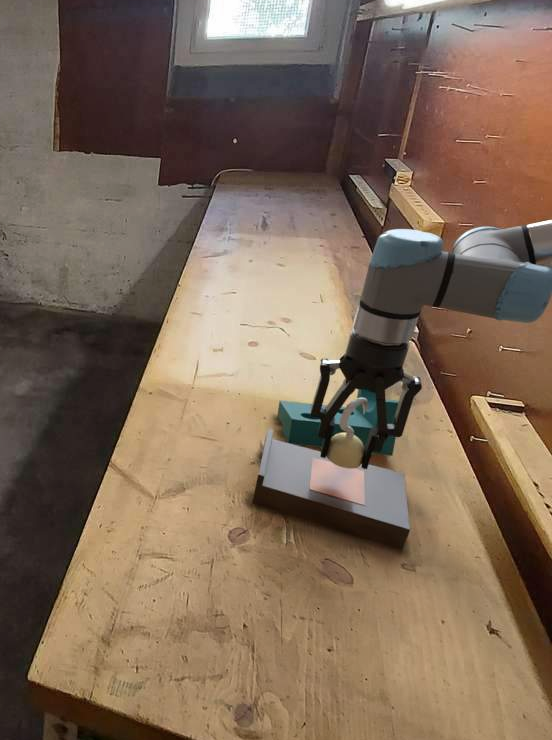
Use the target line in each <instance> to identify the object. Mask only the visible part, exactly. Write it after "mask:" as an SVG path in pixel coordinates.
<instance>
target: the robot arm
mask: <svg viewBox="0 0 552 740" xmlns="http://www.w3.org/2000/svg"><path fill="white" fill-rule="evenodd" d="M443 245H444V242H443V239H442V238H441V237H440V236H438V234H437V235H436V234H434V233H431V232H427V231H426V232H424V231H421V230H419V229H409V228H395V229H394V228H393V229H389V230H387V231H384V232H383V233H381V234H380V235H379V236H378V237H377V240H376V243H375V245H374V248H373V252H372V255H371V257H370V261H369V263H368V267H367V271H366V275H365V279H364V283H363V287H362V290H361V293H360V297H359V298H360V299H359V303H358V306H357V309H356V313H355V317H354V320H353V324H352V328H353V329H352V330H351V331H350V333H349V334H350V335H349V337H348V342H347V345H346V348H345V352H344V354H343V355H342V356H341V357H340V358H339V359H337V360H335V359H334V360H329V359H328V357H327V358H326V357H323V358H321V359H320V363H319V372H320V377H319V380H318V383H317V386H316V389H315V392H314V397H313V400H312V403H311V404H312V407H311V416H312V417H315V418H316V417H317V418H319V419H320V420H321V422H320V425H319V429H318V437H320V438H324V439H323V443H322V446H321V447H320V452H321V456H320V457H322V458H326V455H327V451H328V448H329V444H330V441H331V437H332V434H333V430H334V426H335V418H334V416H335V415H336V414H337V412H338V411H339V410H340V408H341V407H343V405H344V404H345V403H346V401H347V400H348V399H349V398H350V396H351V395H352V394H353V393H354V392H355V390H358V389H359V390H367V391H370V392H373V393H376V406H377V422H378V428H376V427H371V430H370V433H369V436H368V439H367V442H366V445H365V449H364V450H365V452H364V456H363V459H362V468H363V469H367V468H368V465H369V464H370V462H371V458H372V455H373V454H372V453H373V451H376V452H380V451H381V450H382V447H383V444H384V441H385V440H386V439H387V438H388V436H395V437H396V438H401V437H402V436H403V434H404V431H405V427H406V424H407V422H408V418H409V415H410V411H411V408H412V405H413V401H414V399H415V397H416V396H417V395H418V394H419V393H420V392H421V390H422V389H423V386H422V379H421V377H420V376H418V375H413V376H411V375H409V374H407V373H405V372H404V364H405V361H406V357H407V354H408V351H409V349H410V345H411V343H410V341H411V340H412V339H413V336H414V333H415V331H416V327H417V324H418V321H419V317H420V315H421V312H422V309H423V307H424V306H427V307H432V308H436V309H443V310H447V311H452V312H453V311H454V312H459V313H464V314H470V315H475V316H480V317H485V318H490V319H494V320H497V321H500V322H501V321H507V322H513V323H514V322H516V323H523V324H530V323H534V322H536V321H537V320H539V319H540V318H541V317H542V316H543V314H544V312H545V311H546V309H547V307H548V305H549V303H550V301H551V297H552V219H550V220H545V221H539V222H535V223H530V224H529V223H528V224H524V225H519V226H518V225H517V226H513V227H508V228H502V229H501V228H500V227H495V226H479V227H474V228H471V229H469V230H467V231H465V232H464V233H463V234H462V235H460V236H459V237H458V238H457V239H456V241H455V243H454V245H453V247H452V250H451V252H448V251H444V249H443V247H444V246H443ZM337 370H340V371H341V373H342V375H343V376H344V379H343V381H342V384H341V385H340V387H339V388H338V389H337V390H336V392H335V393H334V395H333V396H332V398H331V399H330V400H329V402H328V404H327V405H326V408H325V409H323V408H321V407H322V405H324V404H323V403H324V401H325V397H326V393H327V391H328V387H329V384H330V379H331V376H333V375H335V374H336V371H337ZM399 382H401V385H400V386H401V389H402V390H401V393H400V397H399V399H398V401H399V403H398V406H397V410H396V413H395V416H394V420H393V423H392V424H387V417H386V399H387V398H386V390H387V389H389V388H390V387H392V386H394V385H396V384H397V383H399Z"/></svg>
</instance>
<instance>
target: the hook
mask: <svg viewBox="0 0 552 740" xmlns="http://www.w3.org/2000/svg"><path fill="white" fill-rule="evenodd" d="M361 404H362V406H363V410H364V412H363V414H365V411H366V409H367V407H368V401H367V399H366V398H362V397H360V398H357V397H356V398H355V399H353V400H351V401H350V402H348V404H346V406H345V409H344V411H343V413H342V416H341V419H340V424H339V425H340V427H341V429H342V430H344V431H346V433H338V434H336V435H334V436H333V437H332V438H331V441H330V444H329V448H328V451H327V455H326V457H327V458H328V460H329V461H331V462H332V463H334V464H335V465H337V466H340V467H343V468H349V469H354V468H358V467H359V466H360V465H361V463H362V459H363V456H364V452H365V450H364V445H363V443H362V441H361V440H360V439H359V438H358V437H357V436H355V435H354V430H353V429H352V427H350V426H348V425H347V423H348V420H349V417H350V414H351V412H352V411H353V410H354V409H355V408H356V407H357V406H359V405H361Z"/></svg>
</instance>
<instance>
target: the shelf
mask: <svg viewBox="0 0 552 740" xmlns="http://www.w3.org/2000/svg"><path fill="white" fill-rule="evenodd" d="M273 436H274V429H271V428H267V432H266V436H265V440H264V446H263V450H262V455H261V459H260V465H259V469H258V473H257V478H256V482H255V487H254V492H253V495H252V501H251V504H252V505H255V506H259V507H261V508H265V509H267V510H271V511H274V512H277V513H280V514H283V515H287V516H289V517H293V518H297V519H300V520H302V521H306V522H309V523H312V524H315V525H319V526H322V527H325V528H329V529H331V530H335V531H338V532H341V533H345V534H346V535H347V534H348V535H351V536H354V537H357V538H361V539H363V540H366V541H369V542H373V543H376V544H379V545H383V546H385V547H388V548H392V549H396V550H399V551H403V549H404V547H405V545H406V542H407V540H408V537H409V534H410V532H411V524H410V514H409V508H408V507H409V506H408V504H409V503H408V498H407V497H408V496H407V489H406V479H405V472H400V471H396V470H392V469H389V468H384V467H381V466H377V465H373V464H370V463H369V465H368V468H367V469H363V468H362V463H361V465H360V466H359V467H358V468H354V469H349V468H343V467H340V466H337V465H335V464H334V463H332V462H331V461H329V460H328V458H327V457H326V458H322V457H320V456H321V450H320V451H319V450H316V449H312V448H308V447H305V446H302V445H297V444H289V443H288V442H287V441H286V442H285V441H281V440H279V439H274V438H273Z"/></svg>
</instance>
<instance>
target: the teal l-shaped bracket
mask: <svg viewBox="0 0 552 740" xmlns="http://www.w3.org/2000/svg"><path fill="white" fill-rule="evenodd" d="M360 397H362V398H366V399H367V401H368V407H367V409H366V411H365V414H363V412H364V410H363V406H362V404H361V405H359V406H357V407H356V408H355V409H354V410H353V411H352V412H351V414H350V417H349V420H348V423H347V425H348V426H350V427H352V429H353V430H354V435H355V436H357V437H358V438H359V439H360V440H361V441H362V443H363V445H364V449H365V445H366V442H367V439H368V436H369V433H370V430H371V427H376V428H378V422H377V406H376V393H373V392H370V391H367V390H359V389H357V395H356V399H357V398H360ZM398 403H399V399H387V398H386V417H387V424H392V423H393V420H394V416H395V413H396V410H397V406H398ZM326 406H327V405H326V404H325V405H324V404H322V407H321V408H323V409H325V408H326ZM311 407H312V403H307V402H306V403H305V402H297V401H287V400H279V402H278V408H277V416H276V417H277V418H278V420H279V422H280V424H281V425H282V431H281V434H282V435H283V437H284V439H285V440H286V443H289V444H293V445H297V446H306V447H314V448H321V446H322V443H323V439H324V438H320V437H318V429H319V425H320V422H321V420H320V419H319V418H317V417H316V418H315V417H312V416H311ZM345 408H346V406H345V407H344V406H342V407H341V408H340V410H339V411H338V412H337V414H336V415H335V416H334V418H335V426H334V430H333V434H332V437H333V436H334V435H336V434H338V433H346V431H344V430H342V429H341V427H340V425H339V424H340V419H341V416H342V413H343V411H344V409H345ZM332 437H331V438H332ZM396 439H397V437H395V436H388V438H387V439H386V440H385V441H384V444H383V447H382V450H381V451H380V452H376V451H373V453H372V455H380V456H389V457H393V454H394V448H395V443H396Z"/></svg>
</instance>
